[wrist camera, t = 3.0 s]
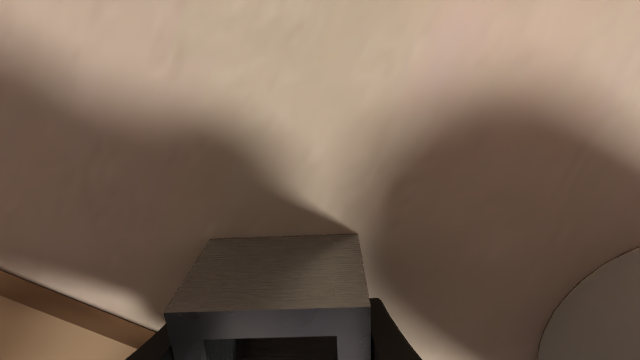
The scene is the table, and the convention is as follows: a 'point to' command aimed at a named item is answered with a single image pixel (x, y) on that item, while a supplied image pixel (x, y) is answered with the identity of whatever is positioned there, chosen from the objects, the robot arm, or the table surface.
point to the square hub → (273, 301)
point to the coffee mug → (598, 316)
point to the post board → (60, 326)
